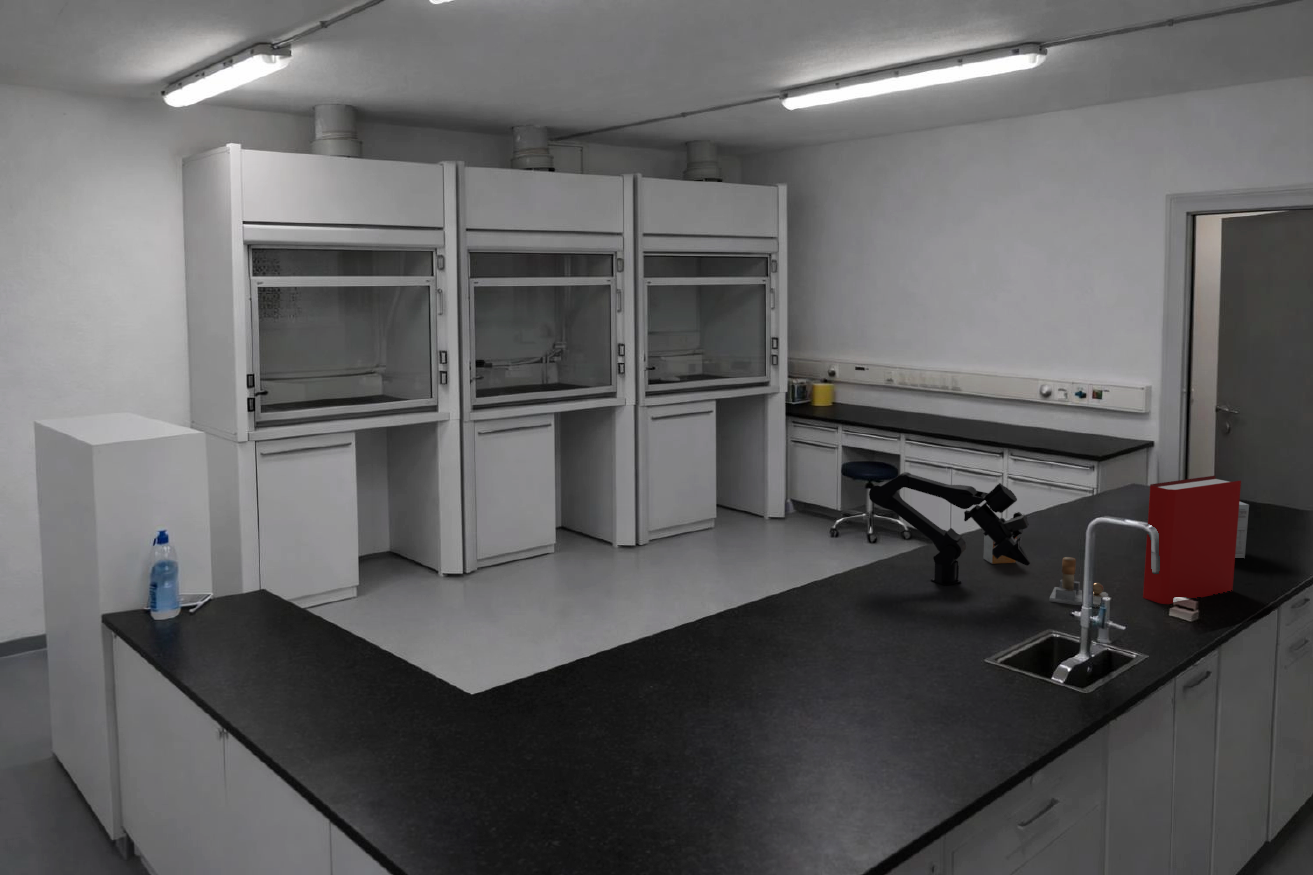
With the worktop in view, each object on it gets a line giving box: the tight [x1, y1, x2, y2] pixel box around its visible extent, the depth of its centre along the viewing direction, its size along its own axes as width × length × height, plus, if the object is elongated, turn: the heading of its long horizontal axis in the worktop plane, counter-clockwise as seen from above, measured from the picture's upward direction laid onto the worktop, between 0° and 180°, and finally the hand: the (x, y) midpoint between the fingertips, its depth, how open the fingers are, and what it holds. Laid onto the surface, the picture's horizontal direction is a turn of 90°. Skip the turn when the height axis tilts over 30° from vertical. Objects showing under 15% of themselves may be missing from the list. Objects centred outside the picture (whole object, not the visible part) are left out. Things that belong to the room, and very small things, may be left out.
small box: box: [983, 517, 1018, 565], centre depth 317 cm, size 8×6×13 cm
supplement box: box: [1235, 500, 1250, 559], centre depth 322 cm, size 13×13×18 cm
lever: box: [1061, 556, 1077, 590], centre depth 280 cm, size 3×6×10 cm, turn 151°
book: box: [1142, 475, 1242, 605], centre depth 281 cm, size 27×8×32 cm, turn 114°
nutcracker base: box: [1048, 579, 1109, 606], centre depth 279 cm, size 14×11×5 cm
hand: (1028, 564), depth 285 cm, fingers closed
